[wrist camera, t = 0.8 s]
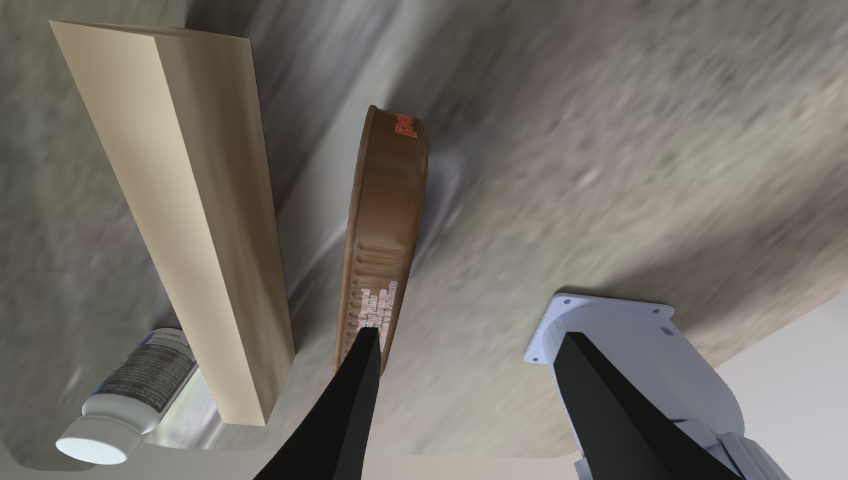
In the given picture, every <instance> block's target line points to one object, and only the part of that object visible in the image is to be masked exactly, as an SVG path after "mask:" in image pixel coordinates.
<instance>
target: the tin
mask: <svg viewBox="0 0 848 480" xmlns="http://www.w3.org/2000/svg"><path fill="white" fill-rule="evenodd" d="M427 168H428V146H427V141H426V138H425V135H424V128H423V123H422V121H421V120H420V119H418V118H415V117H412V116H408V115H403V114H399V113H394V112H389V111H385V110H381V109H378V108H377V107H376V106H375V105H371V106H370V107H369V110H368V112H367V116H366V120H365V124H364V128H363V132H362V137H361V142H360V147H359V151H358V157H357V163H356V170H355V177H354V184H353V190H352V196H351V202H350V210H349V219H348V226H347V233H346V234H347V236H346V244H345V252H344V263H343V273H342V283H341V292H340V303H339V314H338V324H337V334H336V344H335V354H334V363H333V377H334V375H335V374H336V372H337V370H338V369H339V367H340V366H341V364H342V362H343V361H344V359H345V357H346V355H347V354H348V352H349V350H350V348H351V346H352V344H353V342H354V340H355V338H356V336H357V334H358V332H359V330H360V328H362V327H378V328H379V339H380V350H381V370H380V377H381V376H382V374H383V372H384V370H385V367H386V364H387V360H388V356H389V352H390V349H391V345H392V341H393V338H394V333H395V330H396V326H397V322H398V318H399V314H400V310H401V306H402V302H403V298H404V294H405V289H406V285H407V281H408V277H409V273H410V268H411V264H412V259H413V255H414V251H415V247H416V242H417V237H418V232H419V227H420V222H421V216H422V210H423V204H424V196H425V188H426V180H427Z"/></svg>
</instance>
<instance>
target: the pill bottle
mask: <svg viewBox="0 0 848 480" xmlns="http://www.w3.org/2000/svg"><path fill="white" fill-rule="evenodd" d="M198 367H199V365H198V363H197V361H196V358H195V356H194V354H193V352H192V349H191V347H190V345H189V342H188V340H187V338H186V335H185V333H184V331H183V330H179V329H174V328H160V329H156V330H154V331H152V332H151V333H150V334H149V335H148V336H147V337H146V338H145V339H144V340H143V341H142V342H141V343H140V344H139V345H138V346H137V347H136V348H135V349H134V350H133V352H132V353H131V354H130V355H128V356H127V357H126V359H125V360H124V361H123V362H122V363H121V364H120V365H119V366H118V367H117V369H116V370H115V371H114V372H113V373H112V374H111V375H110V376H109V377H108V378H107V379H106V380H105V381H104V382H103V383H102V384H101V385H100V386H99V387H98V388H97V389H96V390H95V391H94V393H93V394H92V395H91V396H90V397H89V398H88V399H87V400H86V402H85V403H84V405H83V407H82V413H83V416H81V417H79V418H77V419H76V420H75V422H73V423H72V424H71V425H70V426H69V427H68V429H67V430H66V431H65V432H64V433H63V434H62V436H61V437H60V438H59V439H58V440H57V442H56V446H57V448H58V449H59V450H60V451H61V452H63V453H65V454H67V455H69V456H71V457H74V458H76V459H79V460H83V461H87V462H92V463H97V464H118V463H122V462H124V461H125V460H126V459H127V458H128V457H129V455H130V454H131V453H132V451H133V450H134V449H135V447H136V446H137V445H138V443H139V441H140V440H141V439H142V434H144V433H147V432H149V431H151V430H153V429H154V428H155V427H156V426H157V425H158V424H159V423H160V421H161V420H162V418H163V417H164V415H165V414H166V413H167V411H168V410H169V408H170V407H171V405H172V404H173V403H174V401H175V400H176V398H177V397H178V395H179V394H180V392H181V391H182V390H183V388H184V387H185V385H186V384H187V382H188V381H189V380H190V378H191V377H192V375H193V374H194V373H195V371H196V370H197V368H198Z"/></svg>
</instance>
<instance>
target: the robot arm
mask: <svg viewBox="0 0 848 480" xmlns="http://www.w3.org/2000/svg"><path fill="white" fill-rule="evenodd" d="M567 299H568V300H567ZM674 312H675V310H674V308H673V307H672V306H670V305H664V304H655V303H646V302H638V301H629V300H620V299H611V298H603V297H594V296H585V295H577V294H568V293H557V294H555V295H554V296H553V298H552V300H551V302H550V304H549V306H548V308H547V310H546V312H545V314H544V316H543V318H542V320H541V322H540V324H539V326H538V328H537V329H536V331H535V333H534V335H533V337H532V339H531V341H530V343H529V345H528V347H527V349H526V351H525V353H524V355H523V357H524V360H525V361H526V362H531V363H541V364H548V367H549V369H550V372H551V375H552V377H553V380H554V383H555V385H556V388H557V391H558V393H559V396H560V399H561V401H562V404H563V407H564V409H565V412H566V415H567V417H568V420H569V423H570V425H571V428H572V431H573V433H574V436H575V439H576V442H577V444H578V447H579V450H580V452H581V455H582V458H583V459H581V460H580V461H577V462H575V463H574V466H575V469H576V472H577V475H578V478H579V480H791V479H790V478H789V477H788V476H787V475H786V473H785V472H784V471H783V470H782V469H781V468H780V467H779V466H778V464H777V463H776V462H775V461H774V460H773V459H772V458H771V457H770V456H769V455H768V454H767V453H766V451H765V450H764V449H763V448H762V447H760V446H759V445H758V444H757V443H756V442H755V441H753V440H750V439H747V438H745V437H744V430H745V429H744V420H743V416H742V412H741V409H740V407H739V404H738V402H737V400H736V398H735V396H734V395H733V393H732V391H731V390H730V388H729V387H728V386H727V384H726V383H725V382H724V381H723V380H722V379H721V377H720V376H719V375H718V374H717V373H716V372H715V371H714V369H713V368H712V367H711V366H710V365H709V364H708V363H707V361H706V360H705V359H704V358H703V357H702V356H701V355H700V353H699V352H698V351H697V350H696V349H695V348H694V347H693V345H692V344H691V343H690V342H689V341H688V340H687V339H686V337H685V336H684V335H683V334H682V333H681V332H680V331H679V329H678V328H677V327H676V326H675V325H674V324H673V323H672V321H671V320H670V318H671V316H672V315H673V314H674ZM380 370H381V350H380V339H379V328H378V327H362V328H360V330H359V332H358V334H357V336H356V338H355V340H354V342H353V344H352V346H351V348H350V350H349V352H348V354H347V355H346V357H345V359H344V361H343V362H342V364H341V366H340V367H339V369H338V370H337V372H336V374H335V375H334V377H333V379H332V380H331V382H330V383H329V385H328V386H327V388H326V389H325V391H324V392H323V394H322V395H321V397H320V398H319V399H318V401H317V402H316V404H315V405H314V407H313V408H312V409H311V411H310V412H309V413H308V415H307V416H306V417H305V419H304V420H303V421H302V423H301V424H300V425H299V426H298V428H297V429H296V430H295V432H294V433H293V434H292V435H291V436H290V438H289V439H288V440H287V441H286V442H285V444H284V445H283V446H282V447H281V448H280V450H279V451H278V452H277V453H276V454H275V456H274V457H273V458H272V459H271V460H270V461H269V462H268V464H267V465H266V466H265V467H264V468H263V469H262V470H261V471H260V472H259V473H258V474H257V475H256V477H255V478H254V479H253V480H361V474H362V467H363V461H364V455H365V450H366V445H367V440H368V436H369V431H370V426H371V422H372V417H373V412H374V407H375V403H376V398H377V393H378V388H379V379H380Z"/></svg>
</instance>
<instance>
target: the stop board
mask: <svg viewBox="0 0 848 480" xmlns="http://www.w3.org/2000/svg"><path fill="white" fill-rule="evenodd" d="M49 23H50V25H51V27H52V30H53V32H54V34H55V36H56V39H57V41H58V43H59V46H60V48H61V50H62V53H63V55H64V57H65V59H66V62H67V64H68V66H69V69H70V71H71V73H72V76H73V78H74V80H75V82H76V85H77V87H78V89H79V92H80V94H81V96H82V99H83V101H84V103H85V105H86V108H87V110H88V112H89V115H90V117H91V119H92V122H93V124H94V126H95V128H96V131H97V133H98V135H99V138H100V140H101V142H102V145H103V147H104V149H105V151H106V154H107V156H108V158H109V161H110V163H111V165H112V168H113V170H114V172H115V174H116V177H117V179H118V181H119V184H120V186H121V188H122V191H123V193H124V195H125V197H126V200H127V202H128V204H129V207H130V209H131V211H132V214H133V216H134V218H135V220H136V223H137V225H138V227H139V230H140V232H141V234H142V237H143V239H144V241H145V243H146V246H147V248H148V250H149V253H150V255H151V257H152V260H153V262H154V264H155V266H156V269H157V271H158V273H159V276H160V278H161V280H162V283H163V285H164V287H165V289H166V292H167V294H168V296H169V299H170V301H171V303H172V306H173V308H174V310H175V312H176V315H177V317H178V319H179V322H180V324H181V326H182V329H183V331H184V333H185V335H186V338H187V340H188V342H189V345H190V347H191V349H192V352H193V354H194V356H195V358H196V361H197V363H198V365H199V368H200V370H201V372H202V375H203V377H204V379H205V381H206V384H207V386H208V388H209V391H210V393H211V395H212V398H213V400H214V402H215V404H216V407H217V409H218V411H219V414H220V416H221V418H222V421H223V423H232V424H245V425H257V426H266V424H267V422H268V420H269V417H270V415H271V413H272V410H273V408H274V405H275V403H276V401H277V398H278V396H279V394H280V391H281V389H282V386H283V384H284V382H285V379H286V377H287V375H288V372H289V370H290V368H291V365H292V363H293V360H294V358H295V356H296V355H295V348H294V341H293V334H292V327H291V320H290V313H289V307H288V300H287V293H286V286H285V279H284V272H283V265H282V258H281V251H280V244H279V237H278V230H277V223H276V216H275V209H274V203H273V196H272V189H271V182H270V175H269V168H268V161H267V154H266V147H265V140H264V133H263V126H262V119H261V112H260V105H259V98H258V92H257V85H256V78H255V71H254V64H253V57H252V50H251V43H250V39H248V38H241V37H235V36H229V35H223V34H217V33H211V32H205V31H198V30H192V29H186V28H174V27H157V26H141V25H124V24H108V23H91V22H75V21H58V20H49Z"/></svg>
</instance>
